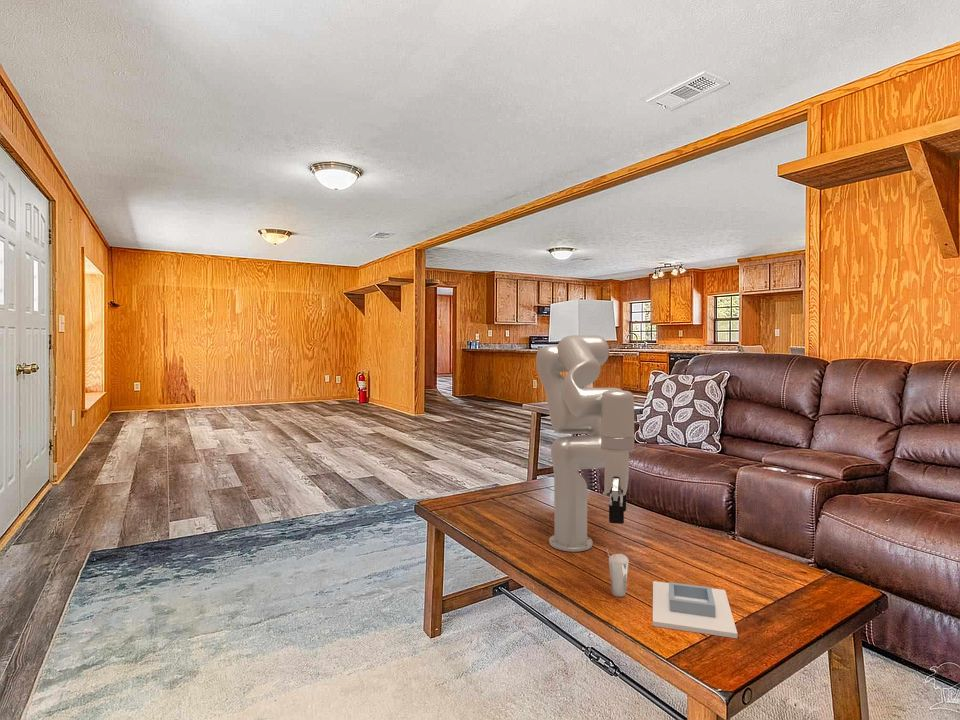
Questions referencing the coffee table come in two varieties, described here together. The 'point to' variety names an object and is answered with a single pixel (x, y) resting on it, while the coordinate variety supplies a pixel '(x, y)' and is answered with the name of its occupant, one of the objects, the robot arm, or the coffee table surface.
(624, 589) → the milkshake
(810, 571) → the coffee table surface
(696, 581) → the coffee table surface
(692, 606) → the dock
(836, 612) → the coffee table surface
